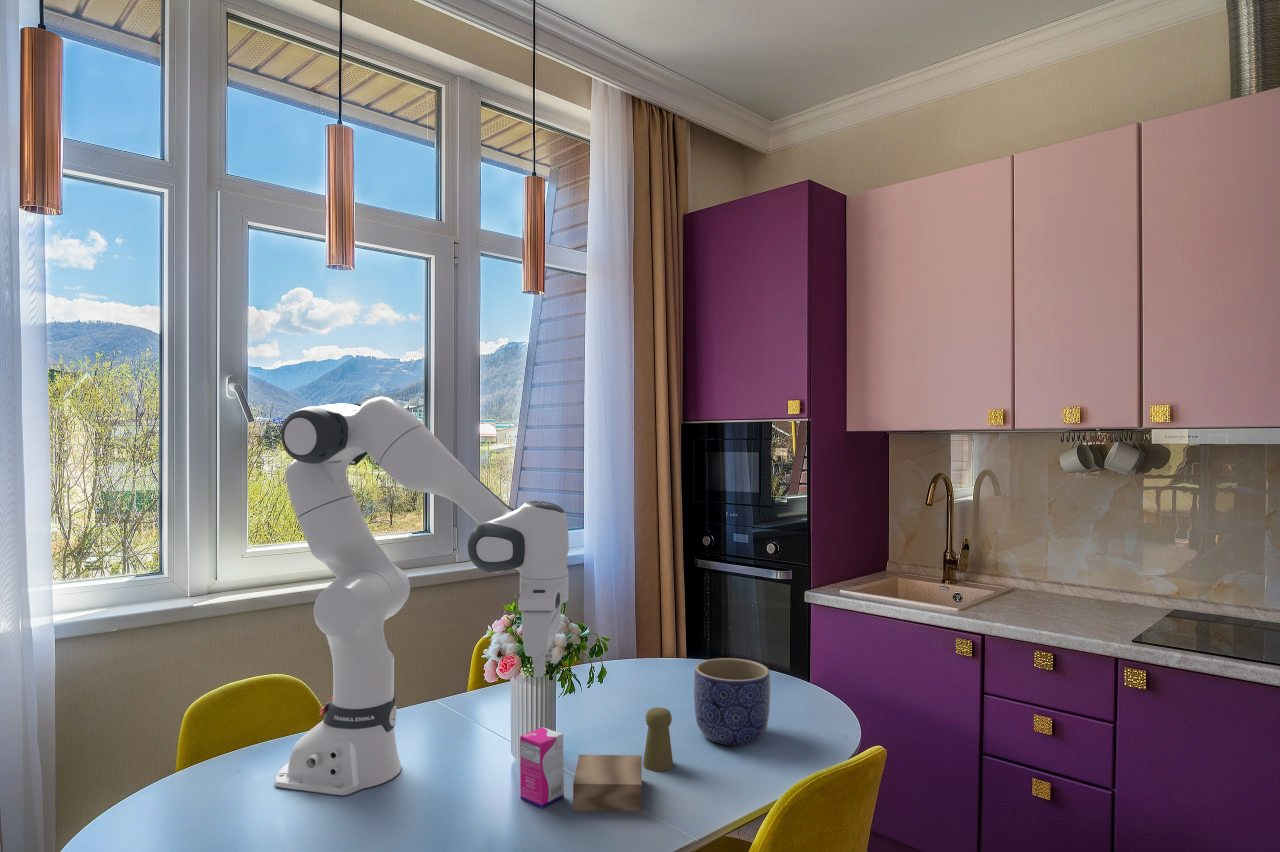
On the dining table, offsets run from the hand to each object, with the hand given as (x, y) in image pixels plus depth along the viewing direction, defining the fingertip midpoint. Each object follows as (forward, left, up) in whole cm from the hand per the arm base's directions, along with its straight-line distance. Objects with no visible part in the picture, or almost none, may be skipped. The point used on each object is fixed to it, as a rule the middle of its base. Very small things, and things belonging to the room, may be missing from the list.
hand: (543, 667), depth 138 cm
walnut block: (+12, +2, -24) cm, 27 cm away
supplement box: (0, 0, -24) cm, 24 cm away
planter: (+37, +30, -24) cm, 53 cm away
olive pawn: (+21, +15, -24) cm, 35 cm away
